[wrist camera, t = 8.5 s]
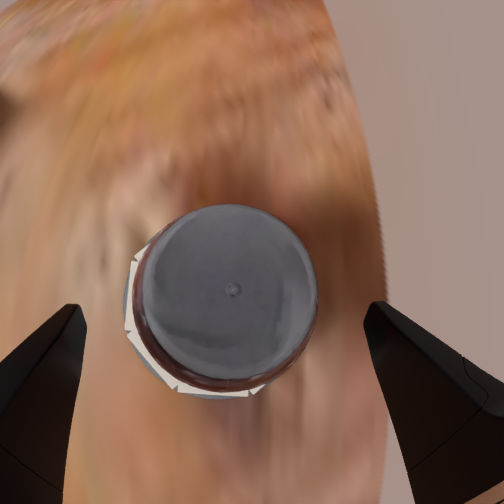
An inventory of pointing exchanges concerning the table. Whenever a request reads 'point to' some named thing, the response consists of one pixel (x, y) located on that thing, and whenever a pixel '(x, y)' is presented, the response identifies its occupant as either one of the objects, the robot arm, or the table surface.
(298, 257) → the supplement bottle
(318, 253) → the table surface
